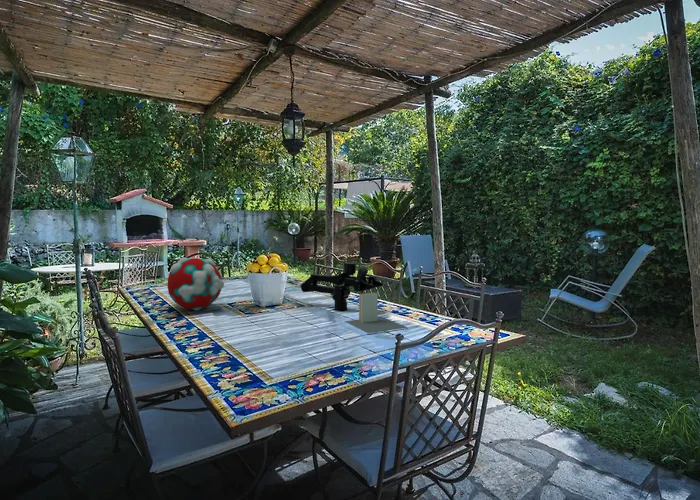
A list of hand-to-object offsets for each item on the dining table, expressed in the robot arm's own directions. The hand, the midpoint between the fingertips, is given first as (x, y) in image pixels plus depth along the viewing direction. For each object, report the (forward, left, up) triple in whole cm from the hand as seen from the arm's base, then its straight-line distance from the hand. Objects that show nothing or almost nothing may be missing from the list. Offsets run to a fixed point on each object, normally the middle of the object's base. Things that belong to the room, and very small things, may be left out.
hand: (378, 285), depth 222 cm
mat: (+9, -19, -17) cm, 26 cm away
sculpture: (-95, -43, -17) cm, 106 cm away
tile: (+3, -15, -16) cm, 22 cm away
